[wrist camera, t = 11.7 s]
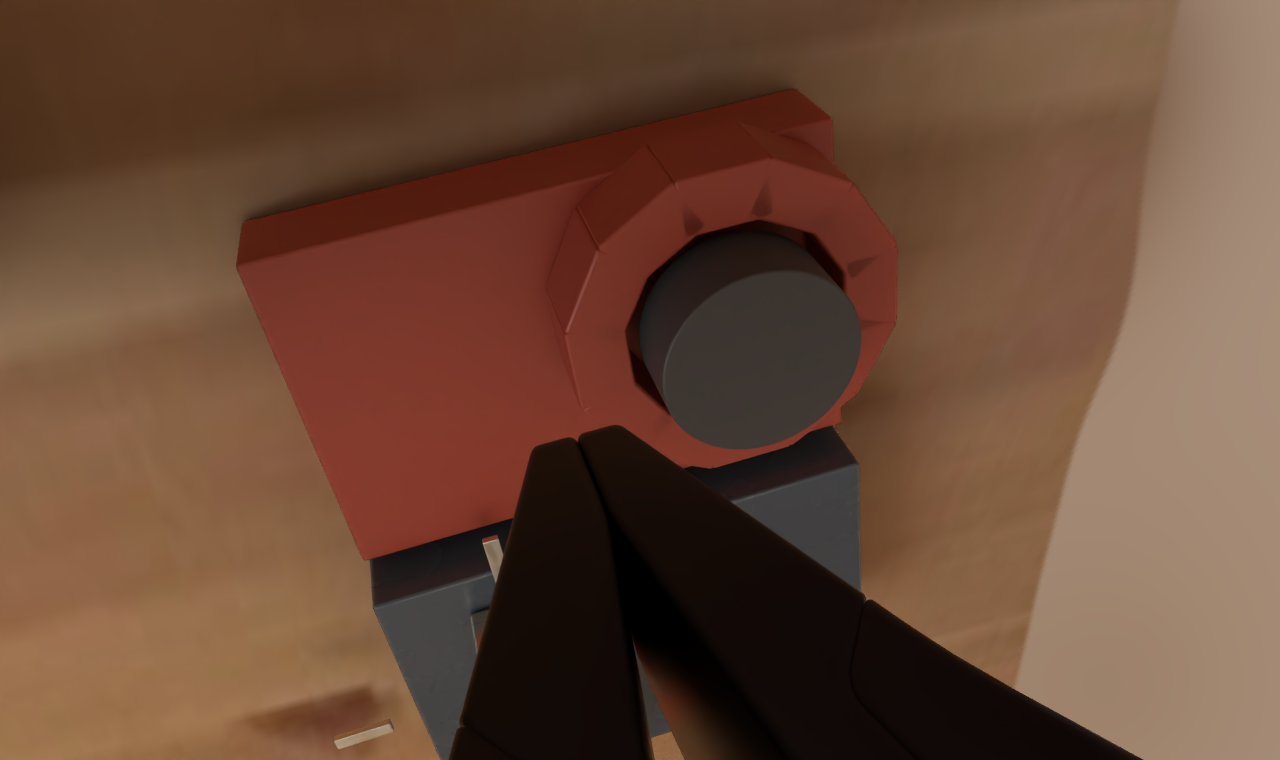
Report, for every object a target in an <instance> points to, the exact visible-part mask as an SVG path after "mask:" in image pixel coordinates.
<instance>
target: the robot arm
mask: <svg viewBox="0 0 1280 760" xmlns="http://www.w3.org/2000/svg"><path fill="white" fill-rule="evenodd" d="M634 647H635V649H634ZM635 650H636V653H637V655H638V658H639V661H640V663H641V665H642V668H643V670H644V672H645V675H646V677H647V679H648V682H649V684H650V686H651V688H652V690H653V692H654V695H655V697H656V699H657V701H658V703H659V705H660V708H661V710H662V712H663V714H664V716H665V718H666V720H667V723H668V725H669V727H670V729H671V731H672V733H673V736H674V738H675V740H676V742H677V744H678V746H679V749H680V751H681V753H682V755H683V757H684V759H685V760H1143V759H1141V758H1139V757H1137V756H1135V755H1134V754H1132V753H1130V752H1128V751H1126V750H1124V749H1123V748H1121V747H1119V746H1117V745H1115V744H1113V743H1112V742H1110V741H1108V740H1106V739H1104V738H1102V737H1101V736H1099V735H1097V734H1095V733H1093V732H1091V731H1090V730H1088V729H1086V728H1084V727H1082V726H1080V725H1079V724H1077V723H1075V722H1073V721H1071V720H1069V719H1068V718H1066V717H1064V716H1062V715H1060V714H1059V713H1057V712H1054V711H1053V710H1051V709H1049V708H1048V707H1046V706H1044V705H1042V704H1040V703H1038V702H1036V701H1035V700H1033V699H1031V698H1029V697H1027V696H1025V695H1024V694H1022V693H1020V692H1018V691H1016V690H1015V689H1013V688H1011V687H1009V686H1008V685H1006V684H1004V683H1002V682H1001V681H999V680H997V679H996V678H994V677H992V676H990V675H989V674H987V673H985V672H983V671H982V670H980V669H978V668H977V667H975V666H973V665H971V664H970V663H968V662H966V661H964V660H963V659H961V658H959V657H958V656H956V655H954V654H952V653H951V652H949V651H948V650H946V649H945V648H943V647H942V646H940V645H939V644H937V643H936V642H934V641H933V640H931V639H930V638H928V637H926V636H925V635H923V634H922V633H920V632H919V631H917V630H916V629H914V628H913V627H911V626H910V625H908V624H907V623H905V622H904V621H902V620H901V619H899V618H898V617H896V616H895V615H893V614H892V613H891V612H889V611H888V610H886V609H885V608H883V607H882V606H881V605H879V604H878V603H876V602H875V601H873V600H867V601H866V597H865V595H864V594H863V593H861V592H860V591H858V590H857V589H856V588H854V587H853V586H851V585H850V584H848V583H847V582H846V581H844V580H843V579H841V578H840V577H838V576H837V575H835V574H834V573H833V572H831V571H830V570H828V569H827V568H825V567H824V566H823V565H821V564H820V563H818V562H817V561H815V560H814V559H812V558H811V557H810V556H808V555H807V554H805V553H804V552H802V551H801V550H800V549H798V548H797V547H795V546H794V545H792V544H791V543H789V542H788V541H787V540H785V539H784V538H782V537H781V536H779V535H778V534H777V533H775V532H774V531H772V530H771V529H769V528H768V527H766V526H765V525H764V524H762V523H761V522H759V521H758V520H756V519H755V518H754V517H752V516H751V515H749V514H748V513H746V512H745V511H743V510H742V509H741V508H739V507H738V506H736V505H735V504H733V503H732V502H731V501H729V500H728V499H726V498H725V497H723V496H722V495H720V494H719V493H718V492H716V491H715V490H713V489H712V488H710V487H709V486H708V485H706V484H705V483H703V482H702V481H700V480H699V479H697V478H696V477H695V476H693V475H692V474H690V473H689V472H687V471H686V470H685V469H683V468H682V467H680V466H679V465H677V464H676V463H674V462H673V461H672V460H670V459H669V458H667V457H666V456H664V455H663V454H662V453H660V452H659V451H657V450H656V449H654V448H653V447H651V446H650V445H649V444H647V443H646V442H644V441H643V440H641V439H640V438H639V437H637V436H636V435H634V434H633V433H631V432H630V431H628V430H627V429H626V428H624V427H623V426H620V425H610V426H607V427H603V428H599V429H596V430H592V431H588V432H585V433H582V434H581V435H580V436H579V437H578V442H577V441H576V440H575V439H574V438H571V437H567V438H563V439H559V440H556V441H552V442H548V443H545V444H541V445H538V446H536V447H534V448H533V450H532V451H531V454H530V457H529V461H528V465H527V468H526V472H525V476H524V480H523V483H522V487H521V491H520V495H519V498H518V502H517V506H516V510H515V513H514V517H513V521H512V525H511V528H510V532H509V536H508V540H507V543H506V547H505V551H504V555H503V558H502V562H501V566H500V570H499V573H498V577H497V581H496V585H495V588H494V592H493V596H492V600H491V603H490V607H489V611H488V615H487V618H486V622H485V626H484V630H483V633H482V637H481V641H480V645H479V648H478V652H477V656H476V660H475V663H474V667H473V671H472V675H471V678H470V682H469V686H468V690H467V693H466V697H465V701H464V704H463V708H462V712H461V716H460V719H459V724H460V727H459V728H458V729H457V730H456V733H455V736H454V740H453V744H452V748H451V751H450V755H449V759H448V760H655V759H654V753H653V748H652V742H651V736H650V730H649V724H648V719H647V713H646V707H645V701H644V696H643V690H642V684H641V679H640V674H639V669H638V664H637V659H636V654H635Z"/></svg>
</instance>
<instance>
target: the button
mask: <svg viewBox="0 0 1280 760" xmlns="http://www.w3.org/2000/svg"><path fill="white" fill-rule="evenodd" d="M861 339H862V337H861V326H860V322H859V318H858V314H857V312H856V310H855V307H854V305H853V303H852V302H851V300H850V299H849V297H848V296H847V295H846V294H845V293H844V291H843V290H842V289H841V288H840V287H839V286H838V285H837V284H836V282H835V281H834V280H833V279H832V278H831V277H830V276H829V275H828V273H827V272H826V271H825V270H824V269H823V268H822V267H821V266H820V264H819V263H818V262H817V261H816V260H815V259H814V258H813V257H812V256H811V255H810V253H809V252H808V251H807V250H806V249H805V248H803V247H802V246H801V245H799V244H798V243H797V242H795V241H793V240H791V239H789V238H787V237H785V236H782V235H779V234H777V233H772V232H767V231H758V230H744V231H735V232H730V233H725V234H722V235H719V236H716V237H713V238H710V239H708V240H706V241H704V242H701V243H699V244H698V245H696V246H694V247H693V248H691V249H689V250H688V251H686V252H685V253H684V254H682V255H681V256H680V257H678V258H677V259H676V260H675V261H674V262H673V263H672V264H671V265H670V266H669V267H668V268H667V269H666V270H665V271H664V272H663V274H662V275H661V276H660V277H659V278H658V280H657V281H656V283H655V285H654V286H653V288H652V289H651V291H650V293H649V295H648V297H647V299H646V302H645V305H644V308H643V310H642V314H641V319H640V324H639V344H640V350H641V354H642V357H643V360H644V362H645V364H646V367H647V369H648V371H649V373H650V375H651V377H652V379H653V381H654V383H655V385H656V387H657V389H658V391H659V393H660V395H661V397H662V399H663V401H664V403H665V405H666V407H667V409H668V411H669V413H670V414H671V416H672V417H673V419H674V421H675V422H676V423H677V424H678V425H679V426H680V427H681V428H682V429H683V430H684V431H685V432H686V433H688V434H689V435H690V436H692V437H693V438H695V439H697V440H699V441H701V442H703V443H706V444H708V445H711V446H715V447H719V448H724V449H734V450H740V449H753V448H760V447H764V446H768V445H772V444H775V443H778V442H781V441H784V440H786V439H788V438H790V437H792V436H794V435H796V434H798V433H800V432H801V431H803V430H805V429H806V428H808V427H809V426H811V425H812V424H814V423H815V422H816V421H818V420H819V419H820V418H821V417H822V416H823V415H824V414H826V413H827V412H828V411H829V410H830V408H831V407H832V406H833V405H834V404H835V403H836V402H837V401H838V399H839V398H840V397H841V395H842V394H843V393H844V391H845V389H846V388H847V386H848V385H849V383H850V381H851V379H852V377H853V375H854V372H855V370H856V367H857V364H858V361H859V356H860V351H861Z"/></svg>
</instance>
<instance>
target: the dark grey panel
mask: <svg viewBox="0 0 1280 760" xmlns="http://www.w3.org/2000/svg"><path fill="white" fill-rule="evenodd" d="M683 469H685V470H686V471H687V472H689V473H690V474H692V475H693V476H695V477H696V478H697V479H699V480H700V481H702V482H703V483H705V484H706V485H708V486H709V487H710V488H712V489H713V490H715V491H716V492H718V493H719V494H720V495H722V496H723V497H725V498H726V499H728V500H729V501H731V502H732V503H733V504H735V505H736V506H738V507H739V508H741V509H742V510H743V511H745V512H746V513H748V514H749V515H751V516H752V517H754V518H755V519H756V520H758V521H759V522H761V523H762V524H764V525H765V526H766V527H768V528H769V529H771V530H772V531H774V532H775V533H777V534H778V535H779V536H781V537H782V538H784V539H785V540H787V541H788V542H789V543H791V544H792V545H794V546H795V547H797V548H798V549H800V550H801V551H802V552H804V553H805V554H807V555H808V556H810V557H811V558H812V559H814V560H815V561H817V562H818V563H820V564H821V565H823V566H824V567H825V568H827V569H828V570H830V571H831V572H833V573H834V574H835V575H837V576H838V577H840V578H841V579H843V580H844V581H846V582H847V583H848V584H850V585H851V586H853V587H854V588H856V589H857V590H858V591H860V592H861V556H860V499H859V463H858V462H857V460H856V459H855V458H854V456H853V455H852V453H851V452H850V451H849V449H848V448H847V446H846V445H845V443H844V442H843V441H842V439H841V438H840V436H839V435H838V434H837V432H836V431H835V429H834V428H833V427H832V425H831V426H828V427H824V428H821V429H817V430H814V431H811V432H808V433H807V434H806V435H804V436H803V437H802V438H801V439H799V440H798V441H797V442H796V443H794V444H793V445H791V444H790V446H788V447H785V448H781V449H778V450H774V451H771V452H768V453H764V454H761V455H757V456H754V457H750V458H747V459H744V460H740V461H737V462H733V463H730V464H726V465H723V466H720V467H716V468H711V469H709V468H703V467H696V466H690V467H687V468H683ZM512 521H513V518H511V519H508V520H504V521H501V522H497V523H494V524H490V525H487V526H483V527H480V528H477V529H473V530H470V531H466V532H463V533H459V534H456V535H452V536H449V537H446V538H442V539H439V540H435V541H432V542H428V543H425V544H421V545H418V546H415V547H411V548H408V549H404V550H401V551H397V552H394V553H391V554H387V555H384V556H380V557H377V558H373V559H370V571H371V585H372V600H373V609H374V611H375V614H376V616H377V618H378V620H379V623H380V625H381V627H382V629H383V632H384V634H385V636H386V638H387V641H388V643H389V645H390V647H391V650H392V652H393V654H394V656H395V659H396V661H397V663H398V665H399V668H400V670H401V672H402V674H403V677H404V679H405V681H406V683H407V686H408V688H409V690H410V692H411V695H412V697H413V699H414V701H415V704H416V706H417V708H418V710H419V713H420V715H421V717H422V719H423V722H424V724H425V726H426V728H427V731H428V733H429V735H430V737H431V740H432V742H433V744H434V746H435V749H436V751H437V753H438V755H439V758H440V760H448V759H449V755H450V751H451V748H452V744H453V740H454V736H455V733H456V730H457V729H458V728H459V727H460V724H459V719H460V716H461V712H462V708H463V704H464V701H465V697H466V693H467V690H468V686H469V682H470V678H471V675H472V671H473V667H474V663H475V660H476V650H475V644H474V638H473V632H472V626H471V621H470V617H471V615H472V614H473V613H476V612H480V611H483V610H486V609H489V607H490V603H491V600H492V596H493V592H494V588H495V585H496V581H497V577H498V573H499V570H500V566H501V562H502V558H503V555H504V551H505V547H506V543H507V540H508V536H509V532H510V528H511V525H512ZM634 649H635V647H634ZM635 654H636V659H637V664H638V669H639V674H640V679H641V684H642V690H643V696H644V701H645V707H646V713H647V719H648V724H649V730H650V736H651V738H652V737H655V736H658V735H662V734H665V733H668V732H671V729H670V727H669V725H668V723H667V720H666V718H665V716H664V714H663V712H662V710H661V708H660V705H659V703H658V701H657V699H656V697H655V695H654V692H653V690H652V688H651V686H650V684H649V682H648V679H647V677H646V675H645V672H644V670H643V668H642V665H641V663H640V661H639V658H638V655H637V653H636V650H635ZM393 732H394V728H393V725H392V723H391V721H390V719H388V720H384V721H381V722H378V723H375V724H372V725H368V726H365V727H362V728H359V729H356V730H352V731H349V732H346V733H343V734H340V735H336V736H334V742H335V744H336V746H337V748H338V749H342V748H345V747H348V746H351V745H354V744H358V743H361V742H364V741H367V740H370V739H373V738H377V737H380V736H383V735H386V734H389V733H393Z"/></svg>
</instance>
